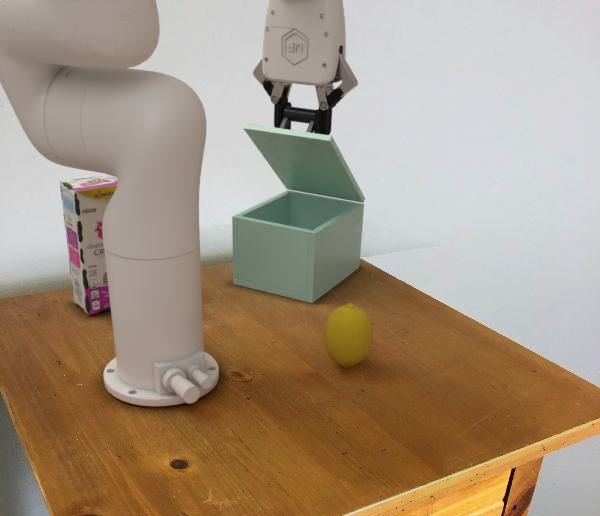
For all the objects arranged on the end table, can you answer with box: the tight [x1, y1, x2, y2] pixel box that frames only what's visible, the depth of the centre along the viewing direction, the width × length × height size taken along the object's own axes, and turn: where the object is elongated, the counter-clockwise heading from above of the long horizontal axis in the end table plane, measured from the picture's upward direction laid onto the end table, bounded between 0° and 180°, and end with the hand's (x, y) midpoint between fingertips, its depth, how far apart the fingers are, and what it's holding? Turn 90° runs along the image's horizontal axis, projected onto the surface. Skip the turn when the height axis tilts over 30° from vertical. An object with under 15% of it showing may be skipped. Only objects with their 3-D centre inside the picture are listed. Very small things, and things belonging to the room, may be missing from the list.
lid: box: [242, 106, 366, 204], centre depth 104 cm, size 17×13×5 cm
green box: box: [231, 189, 365, 304], centre depth 108 cm, size 16×13×10 cm
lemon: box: [323, 302, 373, 369], centre depth 85 cm, size 6×6×8 cm
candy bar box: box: [59, 174, 118, 316], centre depth 97 cm, size 11×5×16 cm, turn 128°
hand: (301, 136), depth 100 cm, fingers closed on lid, 5 cm apart
